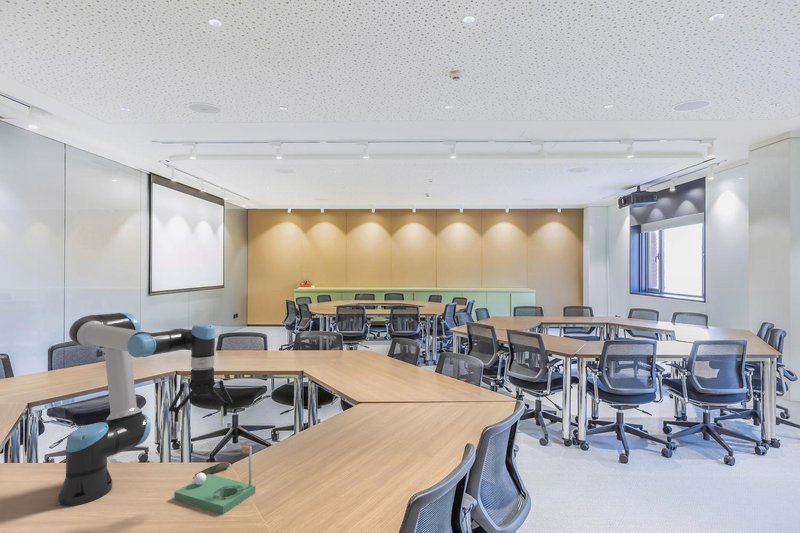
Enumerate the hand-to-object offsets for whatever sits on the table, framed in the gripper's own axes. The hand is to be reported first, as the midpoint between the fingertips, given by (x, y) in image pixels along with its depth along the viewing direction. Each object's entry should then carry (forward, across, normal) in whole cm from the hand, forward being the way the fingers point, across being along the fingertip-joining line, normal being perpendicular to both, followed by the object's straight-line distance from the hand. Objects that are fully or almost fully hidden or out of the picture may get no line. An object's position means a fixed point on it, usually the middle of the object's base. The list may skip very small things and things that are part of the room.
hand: (201, 427), depth 138 cm
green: (+24, +6, -2) cm, 25 cm away
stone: (+25, +3, +18) cm, 31 cm away
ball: (+19, 0, +3) cm, 20 cm away
